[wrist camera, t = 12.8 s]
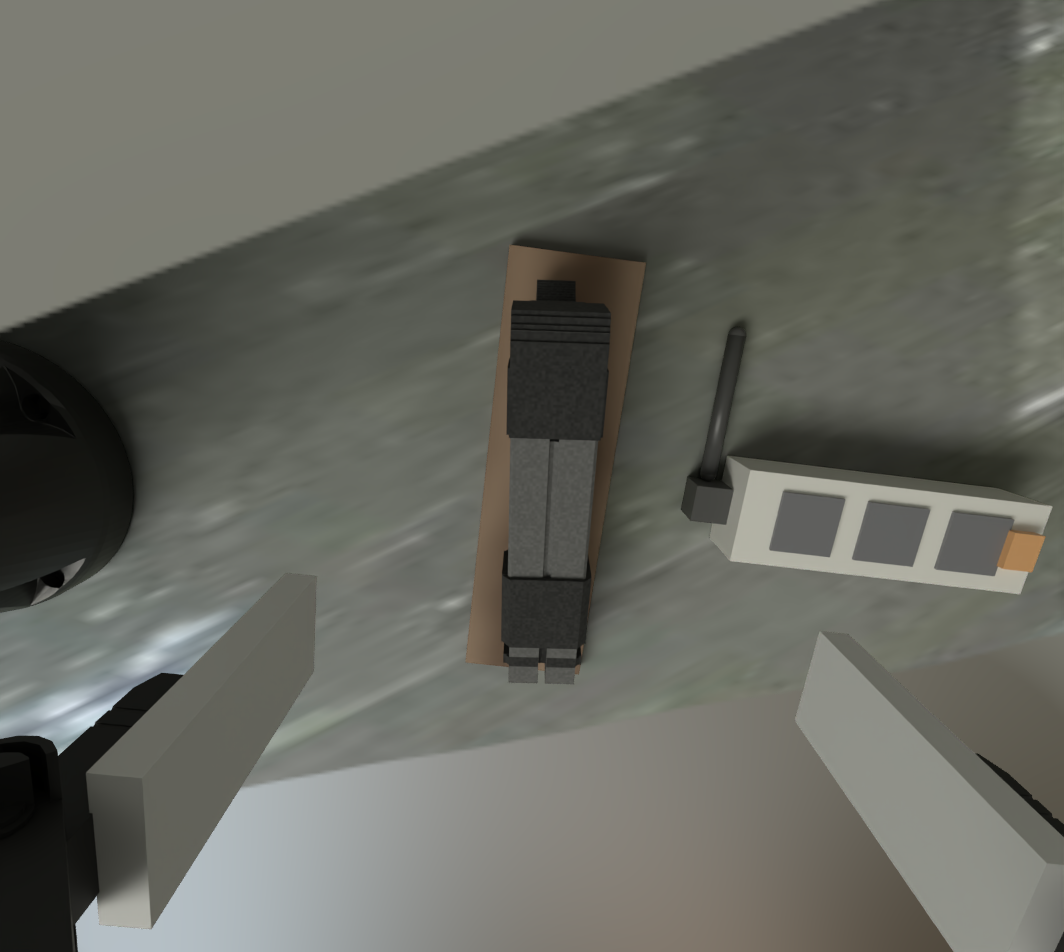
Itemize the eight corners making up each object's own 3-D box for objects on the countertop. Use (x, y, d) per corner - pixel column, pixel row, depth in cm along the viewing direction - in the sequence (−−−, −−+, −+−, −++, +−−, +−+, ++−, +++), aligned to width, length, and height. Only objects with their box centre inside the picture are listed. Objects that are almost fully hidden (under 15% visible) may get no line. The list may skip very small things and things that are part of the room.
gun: (600, 269, 28) (627, 341, 20) (572, 562, 39) (581, 686, 31) (511, 266, 28) (500, 337, 20) (508, 560, 39) (500, 685, 31)
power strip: (676, 533, 33) (696, 561, 29) (717, 324, 30) (746, 323, 26) (970, 567, 34) (1029, 599, 30) (1039, 366, 31) (1115, 371, 27)
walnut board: (466, 655, 35) (465, 662, 34) (510, 247, 29) (509, 244, 28) (577, 666, 35) (578, 674, 34) (642, 264, 29) (646, 262, 29)
